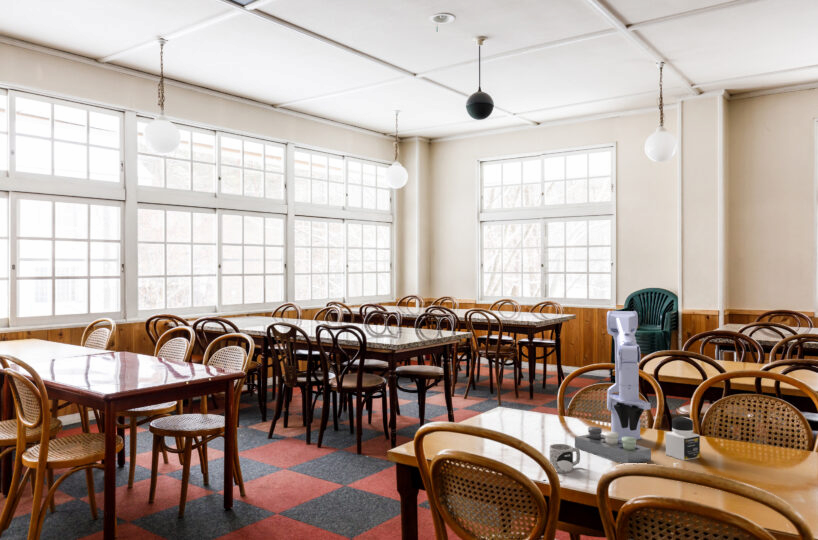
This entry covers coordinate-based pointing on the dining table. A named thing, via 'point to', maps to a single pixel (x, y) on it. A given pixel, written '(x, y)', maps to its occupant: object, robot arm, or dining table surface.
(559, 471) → the mug
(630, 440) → the sage key
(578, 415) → the dining table surface
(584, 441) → the key console
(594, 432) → the grey rounded knob
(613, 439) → the ivory key
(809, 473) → the dining table surface
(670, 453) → the medicine bottle
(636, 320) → the robot arm
